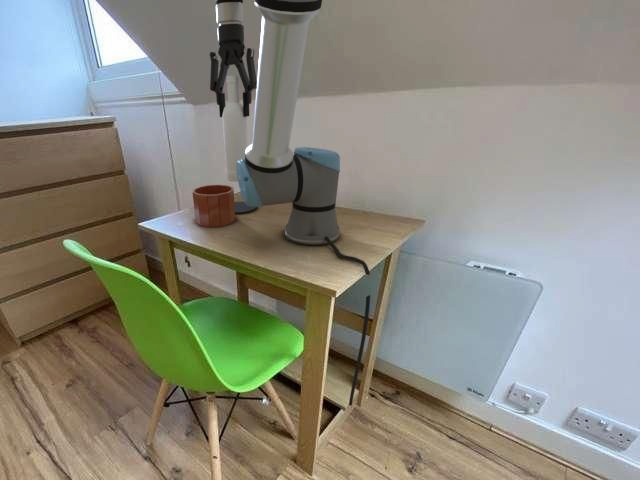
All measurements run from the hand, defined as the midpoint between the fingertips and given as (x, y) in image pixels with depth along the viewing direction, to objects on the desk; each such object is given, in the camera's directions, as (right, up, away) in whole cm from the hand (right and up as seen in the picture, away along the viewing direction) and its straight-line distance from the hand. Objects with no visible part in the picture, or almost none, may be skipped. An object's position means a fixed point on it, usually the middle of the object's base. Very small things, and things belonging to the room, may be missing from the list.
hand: (234, 116), depth 108 cm
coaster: (+1, -25, +16) cm, 29 cm away
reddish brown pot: (-6, -32, +5) cm, 33 cm away
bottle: (+1, -16, +10) cm, 19 cm away
